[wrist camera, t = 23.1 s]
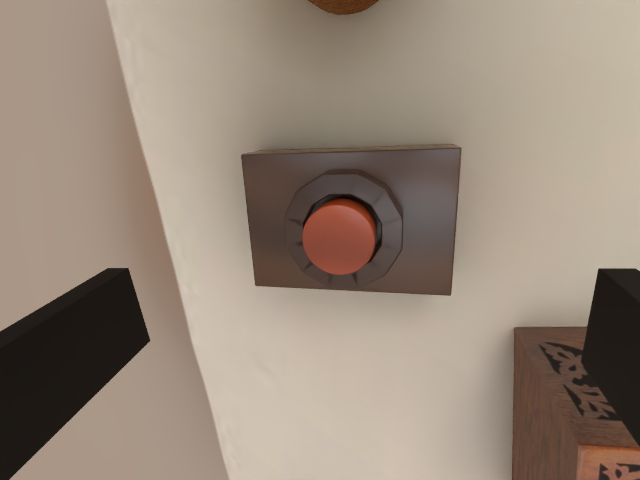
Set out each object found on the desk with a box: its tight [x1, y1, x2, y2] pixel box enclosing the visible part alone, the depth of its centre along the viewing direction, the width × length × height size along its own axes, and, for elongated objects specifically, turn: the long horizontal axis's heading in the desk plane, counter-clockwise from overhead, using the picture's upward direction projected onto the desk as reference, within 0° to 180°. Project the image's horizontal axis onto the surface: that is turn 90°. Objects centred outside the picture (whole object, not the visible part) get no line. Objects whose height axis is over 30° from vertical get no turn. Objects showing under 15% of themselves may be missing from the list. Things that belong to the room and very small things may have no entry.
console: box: [241, 144, 461, 296], centre depth 23 cm, size 9×13×5 cm
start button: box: [302, 198, 377, 275], centre depth 20 cm, size 4×4×2 cm
